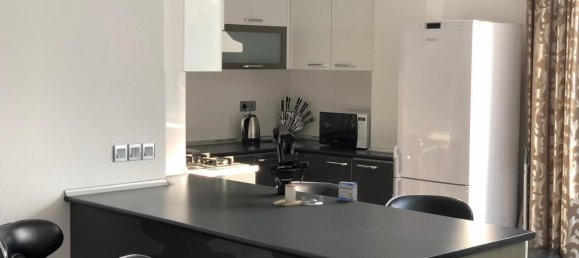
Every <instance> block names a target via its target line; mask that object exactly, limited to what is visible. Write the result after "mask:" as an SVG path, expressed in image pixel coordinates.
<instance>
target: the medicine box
mask: <svg viewBox="0 0 579 258" xmlns="http://www.w3.org/2000/svg"><path fill="white" fill-rule="evenodd" d="M338 201H341V202H343V201H345V202H357V201H358V182H353V181H351V182H349V181H340V182H339V181H338Z"/></svg>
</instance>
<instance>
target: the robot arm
mask: <svg viewBox="0 0 579 258" xmlns="http://www.w3.org/2000/svg"><path fill="white" fill-rule="evenodd" d="M289 131H290V130H289V128H288V125H287V124H285V123H282V124H276V127H274V128H273V129H272V131H271V139H272V142H273V144H274V145H275V146H276V149H277V155H278V162H279V163H278V164H271V165H269V173H270V176H273V177H275V182H276V183H277V192H276V195H285V185H286V184H292V182H294V181H295V176H296V175H295V174H296V172H295V171H297V170H300V172H299V182H300V184H302V182H303V178H304V176H305V174H307V173H309V172H310V164H309V162H308V161H300V162H299V165H296V160H298V158H299V157H298V152H296V151H295V145H296V143H297V139H296V137H295V136H294V134H293V133H292V132H289ZM294 151H295V152H294Z"/></svg>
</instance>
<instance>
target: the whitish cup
mask: <svg viewBox="0 0 579 258" xmlns="http://www.w3.org/2000/svg"><path fill="white" fill-rule="evenodd" d="M296 186H297V185H296V184H293V183H291V184H286V185H285V194H284V197H285V198H284V199H285V202H286V203H295V201H296V199H297V198H296V195H297V192H296V189H297V187H296Z"/></svg>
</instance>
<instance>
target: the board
mask: <svg viewBox="0 0 579 258" xmlns="http://www.w3.org/2000/svg"><path fill="white" fill-rule="evenodd" d="M273 205H276V206H277V205H279V206H290V207H297V206H298V205H302V200H296V201H295V203H286V202H285V198H284V199H282V198H281V199H279V200H276V201H273Z"/></svg>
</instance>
